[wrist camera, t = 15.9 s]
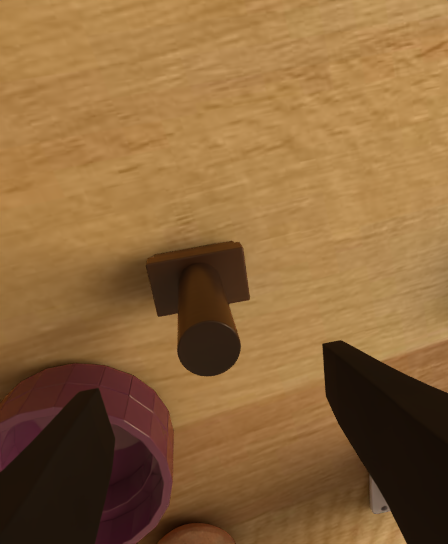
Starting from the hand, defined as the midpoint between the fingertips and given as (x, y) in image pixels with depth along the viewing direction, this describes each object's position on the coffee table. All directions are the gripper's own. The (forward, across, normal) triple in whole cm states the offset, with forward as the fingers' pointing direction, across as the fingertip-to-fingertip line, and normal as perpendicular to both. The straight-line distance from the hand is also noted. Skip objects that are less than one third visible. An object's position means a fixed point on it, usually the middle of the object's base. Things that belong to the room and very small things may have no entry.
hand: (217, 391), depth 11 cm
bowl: (+10, +9, +9) cm, 16 cm away
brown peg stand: (+10, 0, -1) cm, 10 cm away
